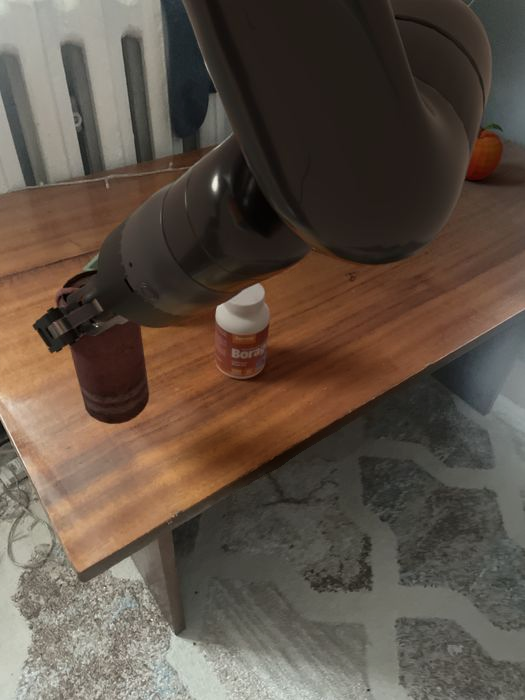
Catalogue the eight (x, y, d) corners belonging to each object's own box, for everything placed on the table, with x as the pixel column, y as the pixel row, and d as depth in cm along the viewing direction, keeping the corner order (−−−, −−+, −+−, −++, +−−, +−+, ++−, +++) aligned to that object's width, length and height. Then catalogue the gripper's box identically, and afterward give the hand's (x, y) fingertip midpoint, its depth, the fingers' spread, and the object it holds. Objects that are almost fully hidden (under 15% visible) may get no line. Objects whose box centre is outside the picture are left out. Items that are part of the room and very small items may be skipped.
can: (78, 387, 55) (48, 273, 45) (142, 373, 57) (127, 260, 47) (87, 434, 51) (57, 320, 42) (155, 417, 53) (142, 304, 43)
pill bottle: (230, 388, 65) (232, 317, 57) (206, 355, 69) (204, 283, 61) (275, 369, 68) (282, 299, 60) (249, 338, 71) (253, 268, 64)
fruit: (442, 159, 111) (458, 108, 104) (491, 168, 110) (510, 117, 103) (441, 181, 104) (457, 129, 97) (493, 191, 103) (514, 138, 96)
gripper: (228, 163, 38) (130, 241, 51) (45, 249, 30) (-15, 316, 43) (282, 260, 39) (173, 311, 53) (122, 367, 31) (41, 396, 44)
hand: (89, 313), depth 48 cm, fingers closed on can, 6 cm apart
